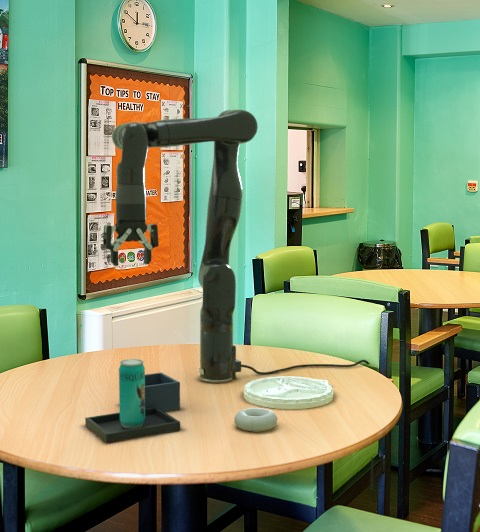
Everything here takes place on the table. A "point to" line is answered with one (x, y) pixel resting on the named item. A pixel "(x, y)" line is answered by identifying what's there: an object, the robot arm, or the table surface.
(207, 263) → the robot arm
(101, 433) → the tray
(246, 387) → the medallion
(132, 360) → the beverage can
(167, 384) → the caddy
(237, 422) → the donut
